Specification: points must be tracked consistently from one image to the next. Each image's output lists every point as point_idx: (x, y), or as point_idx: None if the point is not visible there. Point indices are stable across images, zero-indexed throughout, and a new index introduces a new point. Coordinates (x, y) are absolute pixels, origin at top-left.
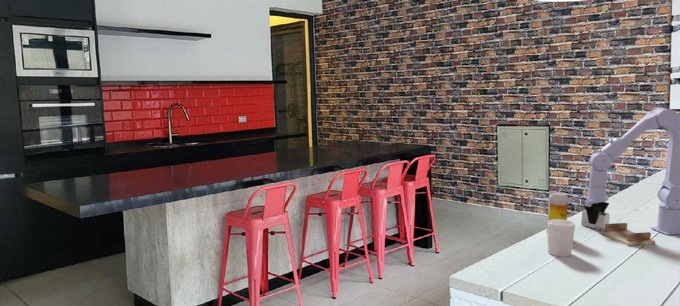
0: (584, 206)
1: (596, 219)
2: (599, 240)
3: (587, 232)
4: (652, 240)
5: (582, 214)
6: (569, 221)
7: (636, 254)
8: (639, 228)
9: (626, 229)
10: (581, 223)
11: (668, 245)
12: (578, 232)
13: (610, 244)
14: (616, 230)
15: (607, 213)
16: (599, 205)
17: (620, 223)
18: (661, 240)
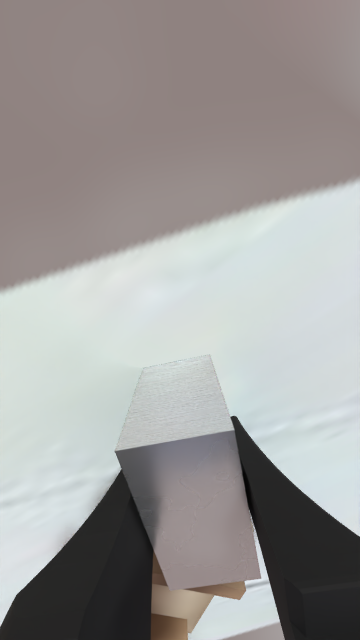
0: (10, 612)
1: None
2: (29, 533)
3: (68, 456)
4: (189, 627)
5: (125, 425)
6: None
7: None
8: (352, 515)
9: None
10: (140, 374)
11: (216, 630)
12: (22, 438)
13: (34, 569)
14: None
15: (247, 573)
16: (282, 611)
17: (207, 587)
18: (251, 606)
